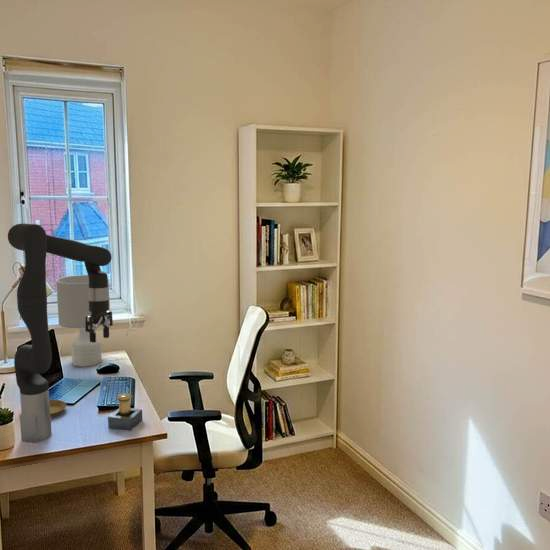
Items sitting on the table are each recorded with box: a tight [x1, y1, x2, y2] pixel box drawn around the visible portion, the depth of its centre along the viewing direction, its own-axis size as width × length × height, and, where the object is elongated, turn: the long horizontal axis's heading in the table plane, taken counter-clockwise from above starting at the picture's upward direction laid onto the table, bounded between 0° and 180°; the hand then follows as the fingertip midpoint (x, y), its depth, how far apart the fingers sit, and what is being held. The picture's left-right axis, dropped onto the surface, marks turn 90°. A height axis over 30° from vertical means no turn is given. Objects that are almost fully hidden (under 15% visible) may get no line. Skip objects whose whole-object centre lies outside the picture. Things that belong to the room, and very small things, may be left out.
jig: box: [107, 407, 143, 432], centre depth 200 cm, size 9×9×4 cm
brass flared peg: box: [116, 392, 132, 417], centre depth 200 cm, size 5×5×11 cm
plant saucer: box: [49, 399, 67, 418], centre depth 210 cm, size 15×15×3 cm
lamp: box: [55, 274, 111, 368], centre depth 266 cm, size 24×24×42 cm
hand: (99, 339), depth 210 cm, fingers open, 8 cm apart
